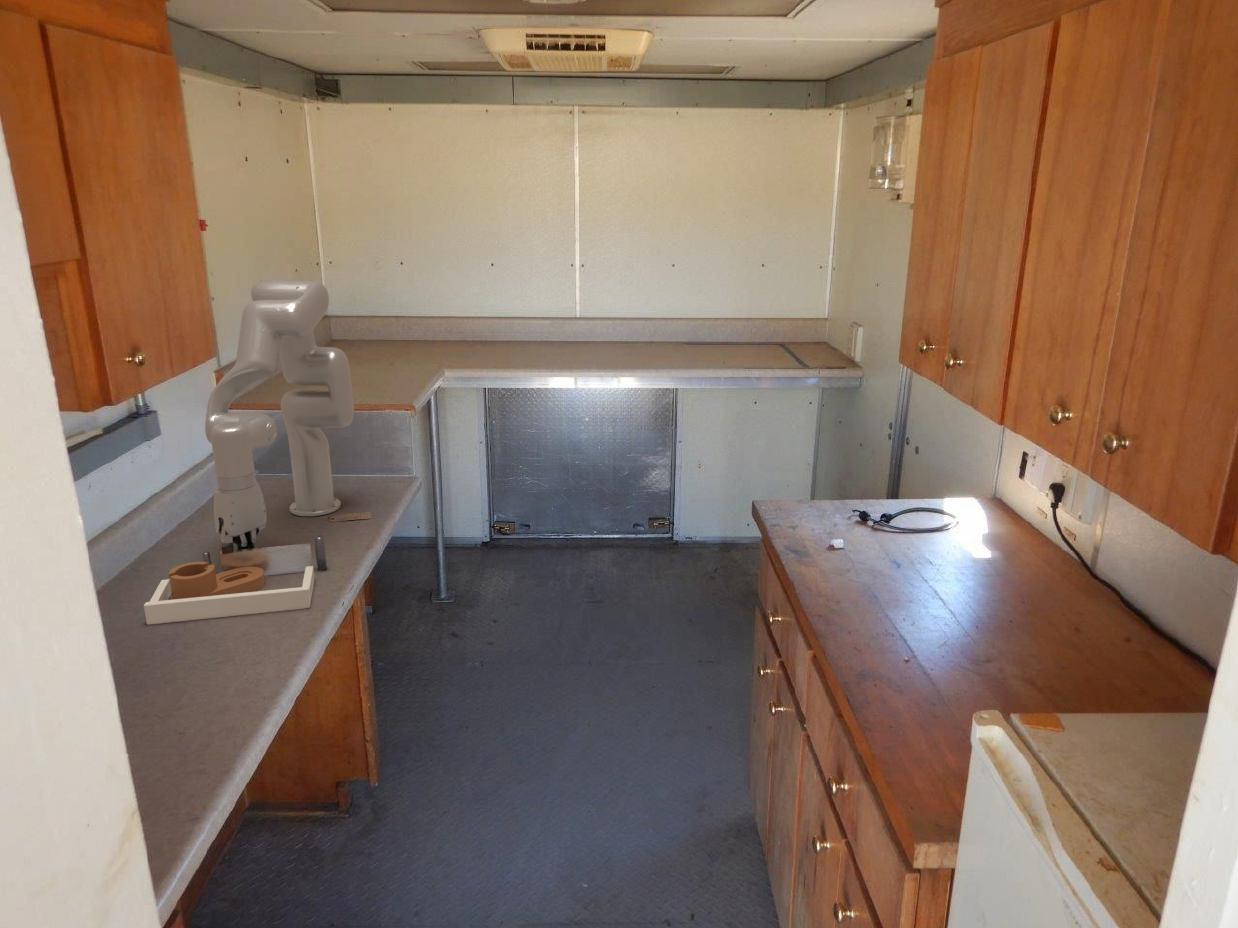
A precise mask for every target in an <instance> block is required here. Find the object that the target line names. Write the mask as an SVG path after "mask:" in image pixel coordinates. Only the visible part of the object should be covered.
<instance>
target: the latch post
mask: <svg viewBox="0 0 1238 928" xmlns="http://www.w3.org/2000/svg"><path fill="white" fill-rule="evenodd" d="M201 560H202V562H209V565H212V557H211V552H210V551H209V550H204V551H202V552H201Z"/></svg>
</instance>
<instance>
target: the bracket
mask: <svg viewBox="0 0 1238 928" xmlns="http://www.w3.org/2000/svg"><path fill="white" fill-rule="evenodd" d="M211 564H212V563H211ZM168 579H169V580H170V587H171V598H172V599H171V600H174V599H185V598H195V597H205V596H215V595H226V594H236V593H246V592H257V591H260V590H261V589H262V588H264V586H265V585H266V580H265V576H264V571H263V569H261V568H259V567H251V566H249V567H240V568H235V569H232V570H228V571H225V572H222V571H221V572H218V573H216V568H215V564H212V565H209V562H203V561H193V562H188V563H187V562H186V563H183V564H179V565H178V566H175V567H173V568H171V569H170V570H169V572H168Z"/></svg>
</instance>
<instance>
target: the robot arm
mask: <svg viewBox="0 0 1238 928" xmlns="http://www.w3.org/2000/svg"><path fill="white" fill-rule="evenodd" d="M250 295H251V299H252V301H250V302H248V303H247V304H246V305H245V306H244V308H243V311H242V316H241V322H240V329H239V337H238V343H237V351H236V359H235V364H234V365H233V367H232V368H231V369H230V370H229V371H228V372H226V374H225V375H224V376H223V377H222V378H221V379H220V380H219V381H218V383H217V384H216V385H215V387H214V388H213V390H212V392H211V393H210V395H209V398H208V401H207V408H206V415H205V422H204V423H205V424H204V431H205V432H204V433H205V436H206V439H207V441H208V442H209V444H211V448H212V455H213V461H214V469H215V476H216V483H217V489H215V491H214V495H213V520H214V529H215V532H216V533H217V534H219V535H220V542H221V543H222V544H223V543H233V545H236V546H237V550H242V549H254V548H255V543H256V542H257V536H258V534H259V532H261V531H262V530H263V529H265V528H266V526H267V524H266V523H267V518H268V517H267V510H266V504H265V499H264V495H263V492H262V488H261V486H260V483H259V482H258V481H257V478H256V476H257V475H259V474H260V472H259V470H258V469H257V468H255V462H254V455H253V452H256V451H259V450H263V449H265V448H266V449H267V447H270V446H271V445H272V444H273V443H274V441H275V440H276V438H277V435H278V425H277V423H276V420H275V419H274V418H273V417H271V416H270V415H269V414H264V413H245V412H239V413H238V412H229V409H230V406H231V404H232V402H233V401H234V399H235V398H236V397H237V396H238V395H239V394H240V393H241V392H243V391H244V390H245V389H247V388H249V387H251V386H254V385H256V384H257V383H260V382H262V381H265V380H267V379H270V378H272V377H273V376H275V374H276V373H277V370H278V362H279V359H280V364H281V371H282V375H283V378H284V380H285V381H286V382H287V383H288V384H291V385H295V386H296V385H297V386H320V387H321V386H323V387H327V389H317V388H314V389H312V388H299V389H292V390H289V391H287V392H286V393H285V394H283V396H282V398H281V399H280V412H281V416H282V419H283V422H284V425H285V429H286V434H287V439H288V445H289V454H290V465H291V472H292V482H293V490H294V491H293V493H294V502H292V503H291V504H289V505H290V506H289V512H290V513H291V514H293V515H296V516H300V517H318V516H325V515H328V514H332V513H334V512H336V511H338V510H339V509H340V508H341V506H342V505H341V504H342V502H341V500H340V499H338V498H337V497H334V484H333V473H332V465H331V463H332V462H331V457H330V456H331V455H330V444H329V441H328V437H327V436H326V435H325V433H324V432H323V430H322V429H321V428H326V429H327V428H328V429H329V428H332V429H333V428H336V429H337V428H346V427H348V426H349V425H351V424H352V423H353V420H354V417H355V416H354V415H355V404H354V403H355V402H354V393H353V386H352V385H353V384H352V377H351V368H350V362H349V359H348V357H347V355H346V352H345V351H343V350H342V349H341V348H339V347H332V346H331V347H330V346H318V345H317V344H316V340H315V339H316V338H315V334H314V333H315V332H314V329H315V327H316V326H317V325H318V324H319V322H320V321H321V320H323V317H324V316H325V315H326V313H327V311H328V308H329V304H330V296H329V292H328V289H327V287H326V286H325V285H323V283H322V282H319V281H315V280H291V279H290V280H289V279H288V280H287V279H268V280H261V281H258V282H256V283H254V284H253V285H252V287H251V289H250ZM279 357H280V358H279Z"/></svg>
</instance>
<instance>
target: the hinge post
mask: <svg viewBox="0 0 1238 928" xmlns="http://www.w3.org/2000/svg"><path fill="white" fill-rule="evenodd" d="M313 541H314V547H315V548H314V550H315V557H316V558H315V559H316V568H317V571H320V572H324V571H326V570H327V569H328V564H327V554H326V543H325V536H324V535H320V534H319V535H316V536H314V537H313Z"/></svg>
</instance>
